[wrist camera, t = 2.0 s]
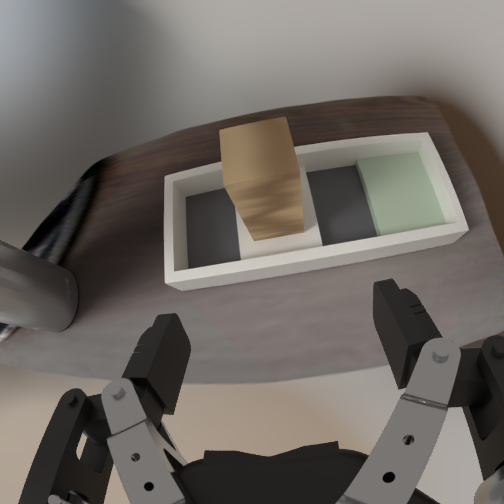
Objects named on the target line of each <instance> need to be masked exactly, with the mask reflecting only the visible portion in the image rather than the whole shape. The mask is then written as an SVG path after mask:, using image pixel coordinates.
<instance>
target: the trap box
mask: <svg viewBox="0 0 504 504" xmlns="http://www.w3.org/2000/svg"><path fill="white" fill-rule="evenodd" d="M294 149H295V153H296V157H297V161H298V165H299V169H300V179H301V191H302V205H303V220H304V233H299V234H293V235H287V236H282V237H276V238H270V239H265V240H259V241H253V239H252V237H251V235H250V233H249V231H248V229H247V228H246V226H245V224H244V222H243V220H242V218H241V217H240V215H239V213H238V211H237V209H236V207H235V205H234V204H233V202H232V200H231V198H230V196H229V194H228V193H227V191H226V189H225V187H224V184H223V172H222V162H218V163H214V164H209V165H205V166H201V167H197V168H193V169H189V170H186V171H182V172H178V173H174V174H171V175H167V176H165V188H164V264H165V284H168V285H170V286H172V287H174V288H176V289H179V290H181V291H186V290H193V289H200V288H206V287H213V286H220V285H226V284H233V283H239V282H246V281H252V280H258V279H265V278H271V277H277V276H283V275H289V274H295V273H301V272H306V271H312V270H318V269H324V268H329V267H335V266H340V265H346V264H351V263H357V262H362V261H367V260H373V259H378V258H383V257H388V256H393V255H399V254H404V253H409V252H414V251H418V250H423V249H428V248H433V247H438V246H443V245H447V244H452V243H454V242H455V241H456V240H458V239H459V238H460V237H461V236H462V235H464V234H465V233H466V232H467V231H468V230H469V229H468V226H467V223H466V220H465V217H464V214H463V211H462V208H461V206H460V203H459V200H458V198H457V195H456V193H455V190H454V188H453V185H452V183H451V181H450V178H449V176H448V174H447V171H446V169H445V167H444V165H443V162H442V160H441V158H440V156H439V154H438V152H437V150H436V148H435V146H434V144H433V142H432V140H431V138H430V136H429V134H428V132H427V133H410V134H396V135H384V136H373V137H364V138H355V139H346V140H339V141H331V142H324V143H317V144H311V145H304V146H298V147H294Z"/></svg>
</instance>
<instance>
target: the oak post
mask: <svg viewBox="0 0 504 504" xmlns="http://www.w3.org/2000/svg"><path fill="white" fill-rule="evenodd" d="M219 134H220V147H221V160H222V172H223V184H224V187H225V189H226V191H227V193H228V194H229V196H230V198H231V200H232V202H233V204H234V205H235V207H236V209H237V211H238V213H239V215H240V217H241V218H242V220H243V222H244V224H245V226H246V228H247V229H248V231H249V233H250V235H251V237H252V239H253V241H259V240H265V239H270V238H276V237H282V236H287V235H293V234H299V233H304V220H303V205H302V191H301V179H300V169H299V165H298V161H297V157H296V153H295V149H294V145H293V142H292V138H291V134H290V130H289V127H288V123H287V119H286V117H280V118H274V119H269V120H264V121H259V122H254V123H249V124H244V125H240V126H235V127H231V128H226V129H222V130H219Z"/></svg>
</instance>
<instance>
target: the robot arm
mask: <svg viewBox="0 0 504 504" xmlns="http://www.w3.org/2000/svg"><path fill="white" fill-rule="evenodd" d="M77 305H78V288H77V283H76V280H75V277H74V276H73V274H72V273H71V272H70V271H69V270H68V269H65V268H63V267H61V266H58V265H56V264H53V263H51V262H49V261H47V260H44V259H42V258H39V257H37V256H35V255H32V254H30V253H28V252H26V251H23V250H21V249H19V248H17V247H14V246H12V245H10V244H8V243H6V242H4V241H1V240H0V322H1V323H6V324H11V325H16V326H21V327H27V328H32V329H38V330H44V331H50V332H60V331H63V330H64V329H66V328H67V327H68V326H69V325H70V323H71V322H72V320H73V318H74V316H75V313H76V309H77ZM373 319H374V324H375V328H376V330H377V333H378V335H379V338H380V340H381V343H382V345H383V348H384V351H385V353H386V356H387V359H388V361H389V364H390V367H391V369H392V372H393V375H394V378H395V381H396V384H397V386H398V389H403V388H406V390H405V392H404V394H403V395H401V397H400V399H399V401H398V403H397V405H396V407H395V409H394V411H393V413H392V415H391V417H390V419H389V421H388V423H387V425H386V427H385V428H384V430H383V432H382V434H381V436H380V438H379V439H378V441H377V443H376V445H375V446H374V448H373V450H372V452H371V453H370V455H367V454H364V453H361V452H358V451H354V450H347V449H339V446H338V441H335V442H329V443H323V444H316V445H309V446H303V447H300V448H297V449H294V450H291V451H288V452H284V453H281V454H278V455H274V456H270V457H267V456H260V455H255V454H249V453H244V452H239V451H209V450H206V451H205V452H204V458H203V459H200V460H196V461H193V462H191V463H187V461H186V460H185V459H184V458H183V456H182V455H181V453H180V452H179V450H178V448H177V446H176V445H175V443H174V441H173V439H172V438H171V436H170V434H169V432H168V430H167V429H166V427H165V425H164V423H163V422H162V421H161V419H162V416H163V414H168V415H173V414H174V411H175V407H176V403H177V400H178V396H179V392H180V389H181V385H182V382H183V378H184V374H185V371H186V367H187V364H188V360H189V357H190V353H191V345H190V341H189V338H188V336H187V334H186V332H185V330H184V328H183V326H182V323H181V321H180V319H179V317H178V315H177V314H176V313H171V314H162V315H158V316H157V317H156V319H155V322H154V324H153V326H152V327H149V328H148V329H147V330H146V331H145V332H144V333H143V334H142V335H141V337H140V339H139V341H138V343H137V346H136V348H135V350H134V354H132V356H131V358H130V360H129V362H128V365H127V367H126V369H125V371H124V373H123V375H122V378H120V379H116V380H113V381H111V382H110V383H109V384H108V385H106V387H105V388H104V389H103V392H102V393H101V394H97V395H92V396H86V394H85V393H84V392H83V391H82V390H81V389H78V388H75V389H71V390H69V391H67V392H66V393H65V394H64V395H63V396H62V397H61V399H60V401H59V403H58V405H57V407H56V409H55V411H54V413H53V416H52V418H51V420H50V422H49V424H48V427H47V429H46V431H45V433H44V436H43V438H42V440H41V443H40V445H39V448H38V450H37V453H36V455H35V458H34V460H33V463H32V466H31V468H30V471H29V474H28V477H27V479H26V482H25V485H24V488H23V491H22V494H21V497H20V500H19V503H18V504H103V503H104V499H105V495H106V491H107V486H108V483H109V479H110V475H111V471H112V467H113V464H115V466H116V469H117V471H118V475H119V477H120V480H121V482H122V485H123V487H124V490H125V492H126V494H127V497H128V499H129V501H130V504H440V503H438V502H436V501H435V500H434V499H432V498H430V497H429V496H428V495H426V494H424V493H423V492H421V491H420V490H418V489H417V488H415V487H416V485H417V484H418V482H419V480H420V478H421V476H422V473H423V471H424V469H425V467H426V465H427V463H428V460H429V458H430V456H431V454H432V451H433V449H434V446H435V444H436V441H437V439H438V436H439V434H440V431H441V428H442V425H443V423H444V420H445V417H446V414H447V411H448V408H449V407H462V408H463V412H464V414H465V417H466V420H467V423H468V426H469V429H470V433H471V436H472V439H473V442H474V446H475V449H476V453H477V456H478V460H479V464H480V468H481V472H482V476H483V480H484V482H483V483H482V484H481V485H480V486H479V487H478V489H477V491H476V493H475V497H474V504H504V337H503V336H499V335H495V336H491V337H488V338H487V339H486V340H485V341H484V343H483V345H482V347H481V348H470V349H461V348H459V347H458V346H457V344H456V343H455V342H453V341H452V340H449V339H446V338H443V337H442V336H441V334H440V332H439V331H438V329H437V327H436V326H435V324H434V322H433V321H432V319H431V317H430V316H429V314H428V313H427V312H426V309H425V308H424V306H423V305H422V303H421V302H420V300H419V298H418V297H417V295H416V294H414V293H413V292H411V291H410V290H408V289H407V288H406V289H401V290H400V289H399V287H398V286H397V284H396V283H395V281H394V280H393V279H387V280H382V281H377V282H374V286H373ZM82 433H83V434H85V435H86V436H87V437H88V438H87V440H86V443H85V446H84V449H83V452H82V455H81V458H80V460H79V459H78V457H77V454H76V449H77V446H78V443H79V441H80V438H81V435H82Z"/></svg>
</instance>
